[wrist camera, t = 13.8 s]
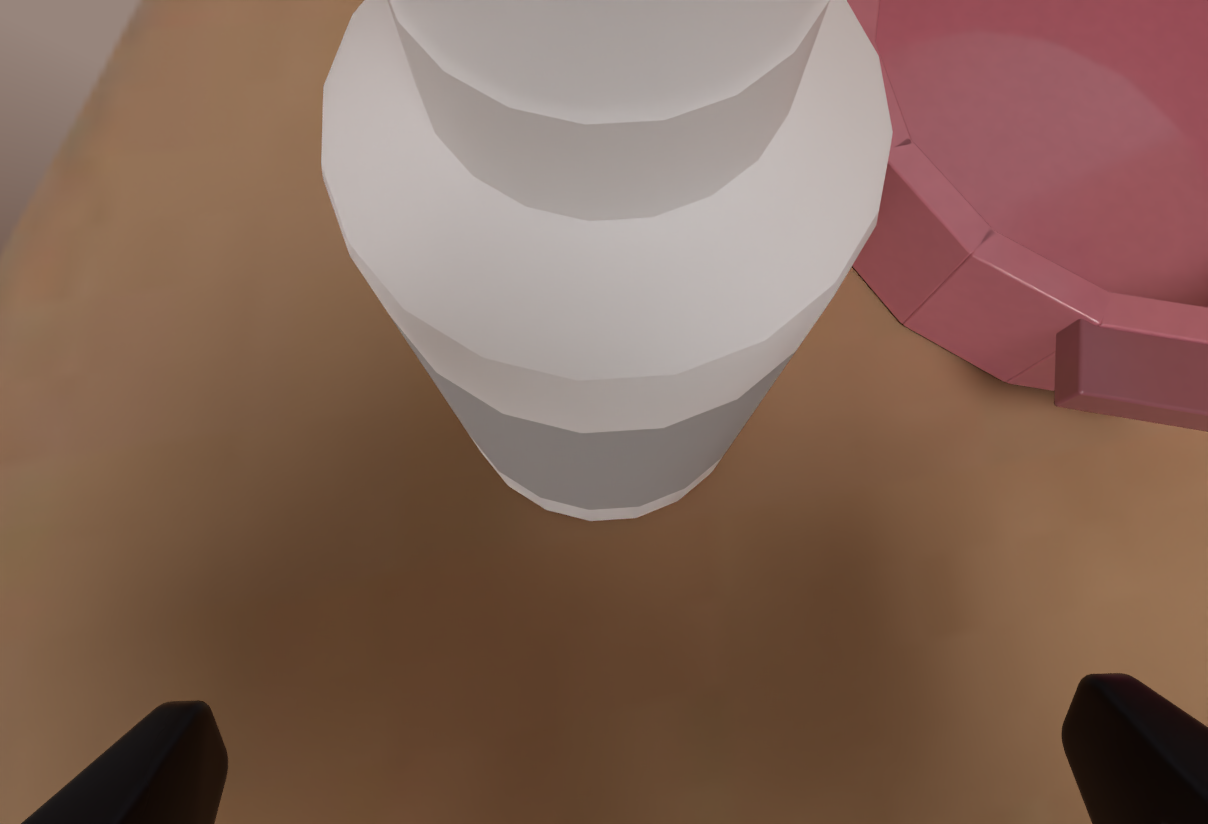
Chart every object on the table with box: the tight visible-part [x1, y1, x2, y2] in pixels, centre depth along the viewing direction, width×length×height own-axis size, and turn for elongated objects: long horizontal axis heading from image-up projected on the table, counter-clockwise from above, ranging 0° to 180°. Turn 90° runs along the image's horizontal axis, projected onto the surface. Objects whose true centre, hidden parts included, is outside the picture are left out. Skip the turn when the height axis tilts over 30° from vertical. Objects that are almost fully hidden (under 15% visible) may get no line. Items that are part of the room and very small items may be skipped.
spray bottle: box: [321, 0, 893, 521], centre depth 11 cm, size 7×7×18 cm
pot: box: [847, 0, 1208, 432], centre depth 20 cm, size 18×15×4 cm
